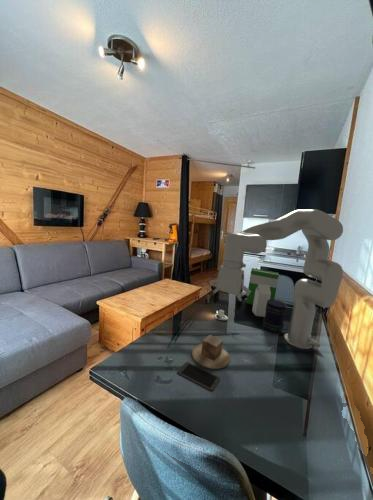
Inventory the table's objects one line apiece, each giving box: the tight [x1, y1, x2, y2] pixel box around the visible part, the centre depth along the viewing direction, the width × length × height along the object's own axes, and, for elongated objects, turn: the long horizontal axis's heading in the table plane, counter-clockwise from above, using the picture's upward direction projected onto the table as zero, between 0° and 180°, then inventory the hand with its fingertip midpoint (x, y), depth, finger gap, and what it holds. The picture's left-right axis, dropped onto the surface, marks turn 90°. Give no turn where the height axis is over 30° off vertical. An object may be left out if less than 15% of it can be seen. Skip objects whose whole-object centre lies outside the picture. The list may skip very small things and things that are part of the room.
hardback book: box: [245, 267, 280, 306], centre depth 152 cm, size 18×7×24 cm, turn 70°
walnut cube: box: [201, 334, 224, 361], centre depth 87 cm, size 6×6×6 cm
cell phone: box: [176, 361, 221, 392], centre depth 76 cm, size 7×14×1 cm, turn 60°
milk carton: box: [251, 284, 271, 318], centre depth 134 cm, size 7×7×19 cm
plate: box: [191, 343, 231, 370], centre depth 87 cm, size 15×15×1 cm
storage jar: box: [262, 299, 288, 335], centre depth 116 cm, size 10×10×15 cm
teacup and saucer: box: [213, 309, 229, 321], centre depth 125 cm, size 9×8×4 cm
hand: (226, 305), depth 88 cm, fingers open, 9 cm apart
